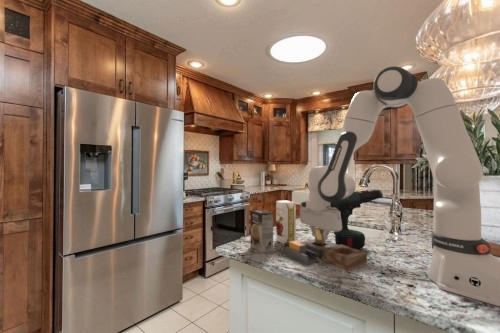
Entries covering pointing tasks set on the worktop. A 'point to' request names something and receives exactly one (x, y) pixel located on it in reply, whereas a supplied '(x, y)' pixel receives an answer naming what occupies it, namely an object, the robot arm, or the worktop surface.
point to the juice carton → (285, 221)
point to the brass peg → (319, 237)
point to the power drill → (346, 207)
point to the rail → (300, 255)
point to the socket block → (317, 249)
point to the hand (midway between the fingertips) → (319, 237)
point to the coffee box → (261, 230)
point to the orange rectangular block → (298, 246)
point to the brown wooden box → (344, 257)
